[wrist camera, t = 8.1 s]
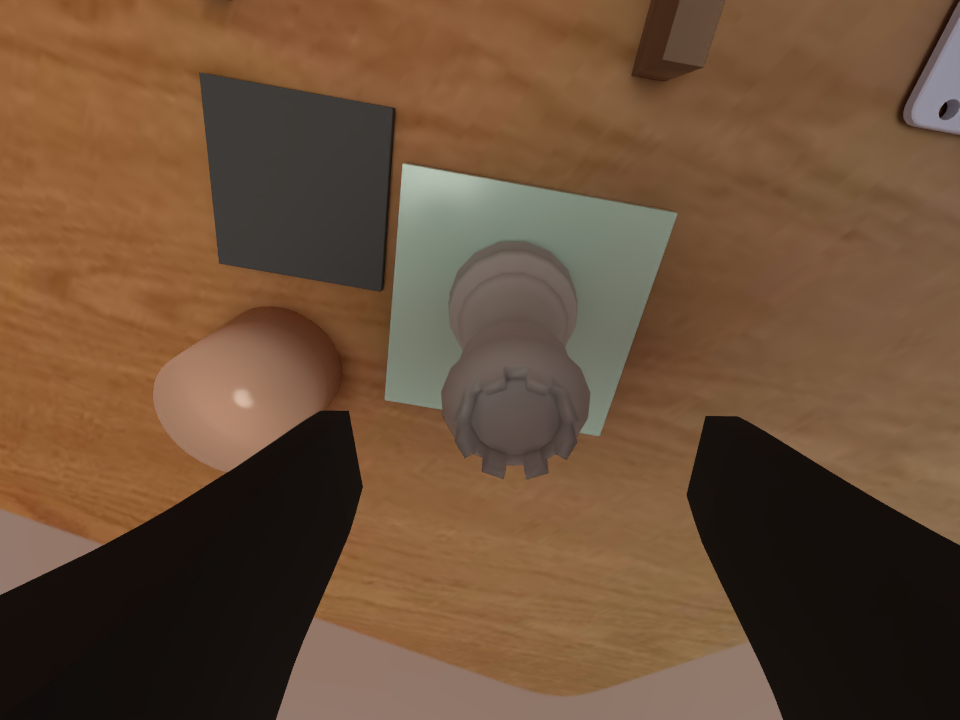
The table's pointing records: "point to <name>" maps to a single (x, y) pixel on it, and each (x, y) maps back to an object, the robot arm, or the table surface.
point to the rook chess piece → (514, 360)
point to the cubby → (676, 37)
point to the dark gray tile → (298, 181)
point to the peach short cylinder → (246, 385)
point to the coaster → (517, 218)
